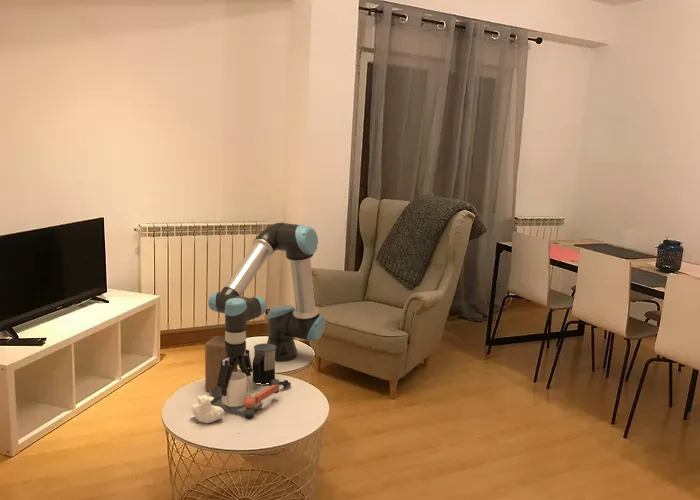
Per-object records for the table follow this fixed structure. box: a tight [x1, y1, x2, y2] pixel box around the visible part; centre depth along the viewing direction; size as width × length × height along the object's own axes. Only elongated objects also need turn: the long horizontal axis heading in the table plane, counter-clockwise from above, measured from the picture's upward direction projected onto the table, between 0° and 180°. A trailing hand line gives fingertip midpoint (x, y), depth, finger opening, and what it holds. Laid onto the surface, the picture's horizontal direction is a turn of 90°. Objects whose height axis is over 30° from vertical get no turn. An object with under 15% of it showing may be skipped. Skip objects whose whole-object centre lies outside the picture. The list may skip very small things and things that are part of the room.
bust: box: [190, 394, 225, 424], centre depth 204 cm, size 12×8×11 cm
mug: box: [225, 371, 247, 407], centre depth 217 cm, size 12×8×10 cm
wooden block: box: [204, 335, 239, 392], centre depth 231 cm, size 10×10×20 cm
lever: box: [244, 378, 280, 408], centre depth 215 cm, size 20×4×6 cm, turn 153°
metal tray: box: [208, 387, 263, 420], centre depth 216 cm, size 10×20×6 cm, turn 63°
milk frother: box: [251, 343, 291, 387], centre depth 237 cm, size 14×16×15 cm
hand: (235, 397), depth 217 cm, fingers closed on mug, 10 cm apart
